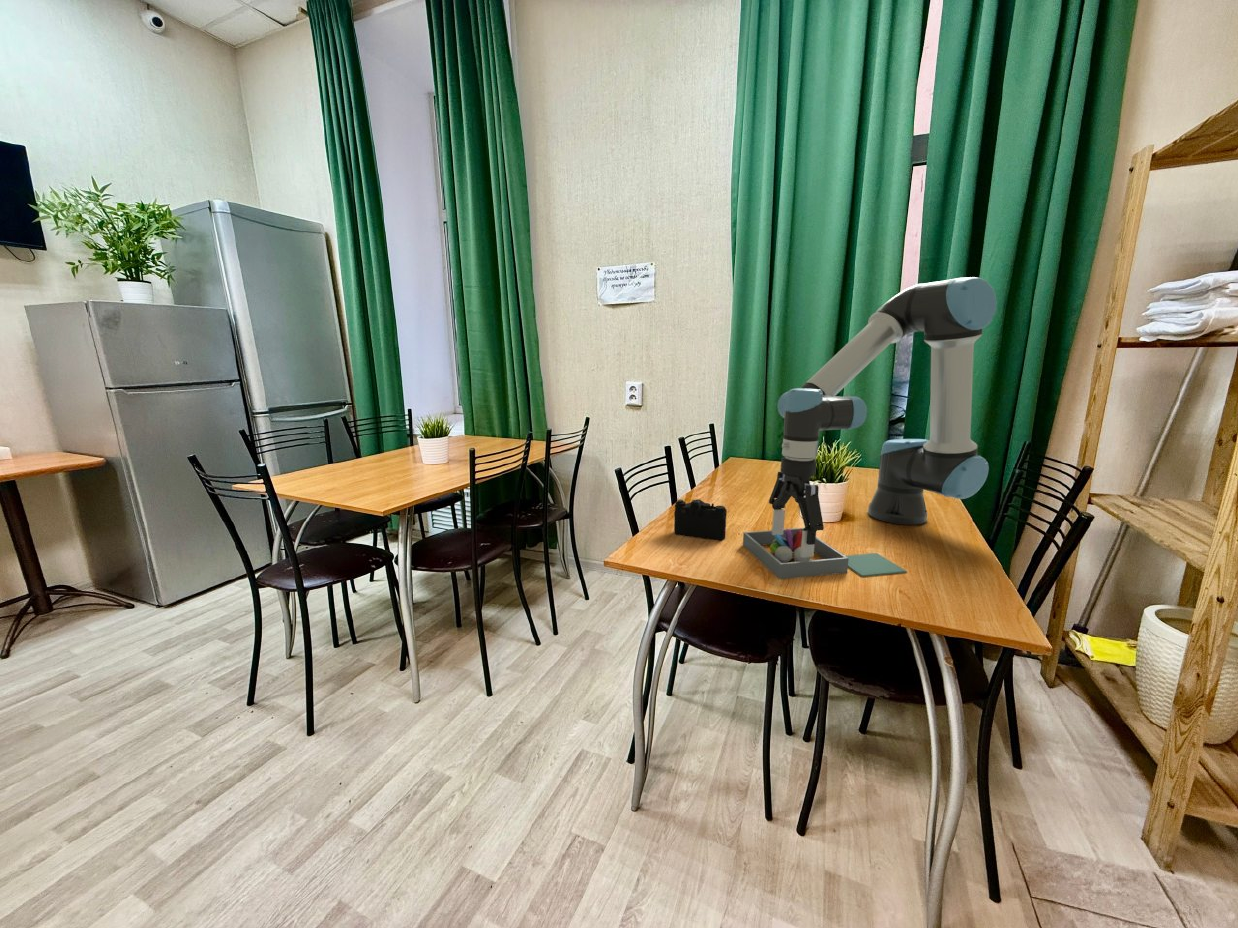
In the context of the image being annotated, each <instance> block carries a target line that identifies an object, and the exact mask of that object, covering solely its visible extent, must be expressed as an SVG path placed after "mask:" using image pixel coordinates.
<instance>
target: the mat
mask: <svg viewBox="0 0 1238 928" xmlns="http://www.w3.org/2000/svg"><path fill="white" fill-rule="evenodd" d="M845 556H846V557H848V558H849V561H848V569H850V570H851V571H853V572H854V573H855V574H858V575H859V576H860V577H861V578H865V577H874V576H875V577H877V576H883V575H884V576H885V575H894V574H903V573H904V574H905V573H907V570H906V569H904V568H902V567H901V566H899V564H898V565H897V564H896V563H894V562H893V561H891V560H890V559H888V558H886V557H885V556H883V555H880V554H879V553H877V552H872V553H871V552H870V553H869V552H868V553H859V554H851V555H849V554H848V555H845Z"/></svg>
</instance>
